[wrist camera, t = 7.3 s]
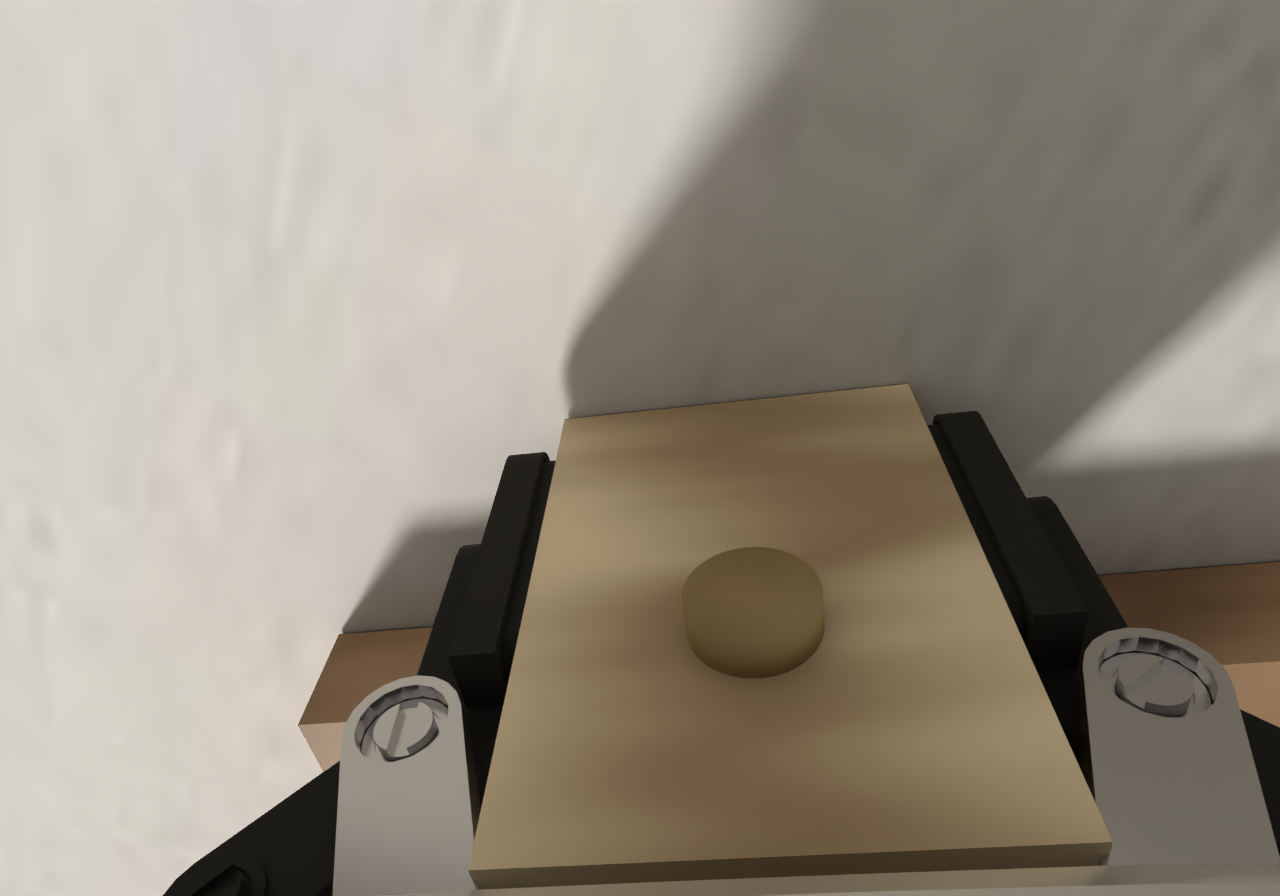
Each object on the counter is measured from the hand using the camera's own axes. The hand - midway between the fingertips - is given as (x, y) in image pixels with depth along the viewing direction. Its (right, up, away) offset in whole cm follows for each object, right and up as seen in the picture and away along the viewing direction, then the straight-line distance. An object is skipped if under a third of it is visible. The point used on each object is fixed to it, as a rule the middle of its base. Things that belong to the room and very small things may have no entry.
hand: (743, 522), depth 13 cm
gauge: (+1, -3, +3) cm, 5 cm away
